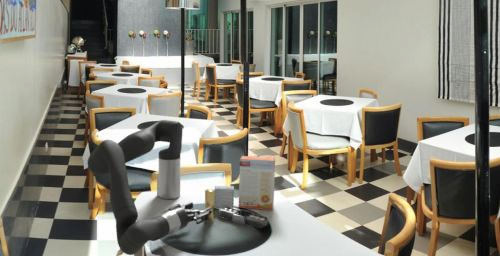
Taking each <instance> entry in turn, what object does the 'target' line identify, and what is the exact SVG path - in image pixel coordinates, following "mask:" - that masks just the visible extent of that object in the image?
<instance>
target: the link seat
mask: <svg viewBox="0 0 500 256" xmlns="http://www.w3.org/2000/svg"><path fill="white" fill-rule="evenodd" d="M240 210H241V216H240V215H237V214H233V221H232V223H236V224H238V225H243V226H244V225H246V224H245V220H246V216H248V217H249V215H251V213H254V212H253V211H250V210H246V209H243V208H241V209H240Z"/></svg>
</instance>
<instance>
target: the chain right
mask: <svg viewBox="0 0 500 256" xmlns="http://www.w3.org/2000/svg"><path fill="white" fill-rule="evenodd" d="M245 225H248V226H250V227H252V228H253V227H254V228H257V229H260V230H262V229H263V228H265V227H267V226H268V225H269V217H268V216H265V215H262V214H258V213H251V215H249V217H248V216H246V218H245Z"/></svg>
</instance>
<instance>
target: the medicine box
mask: <svg viewBox="0 0 500 256" xmlns="http://www.w3.org/2000/svg"><path fill="white" fill-rule="evenodd" d="M234 188H235V186H233V185H214V189H213V190H215V195H214V208H225V206H228V207H232V208H235V206H234V205H235V204H234V201H235V200H234V199H235V198H234V197H235V189H234Z"/></svg>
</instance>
